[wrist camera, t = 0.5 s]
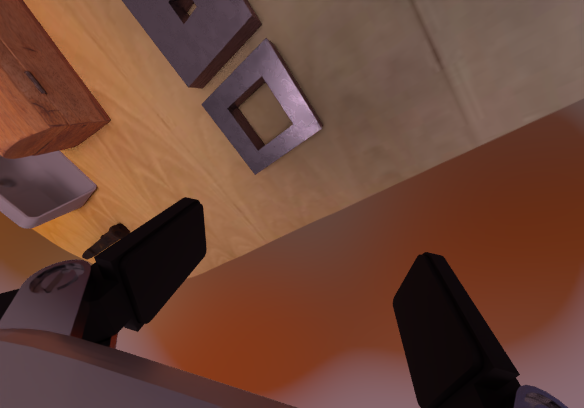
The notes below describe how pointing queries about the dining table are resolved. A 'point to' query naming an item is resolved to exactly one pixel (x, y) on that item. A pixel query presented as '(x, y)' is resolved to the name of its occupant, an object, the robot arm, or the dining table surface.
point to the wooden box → (39, 90)
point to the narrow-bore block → (196, 33)
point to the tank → (41, 188)
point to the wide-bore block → (241, 85)
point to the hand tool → (106, 240)
